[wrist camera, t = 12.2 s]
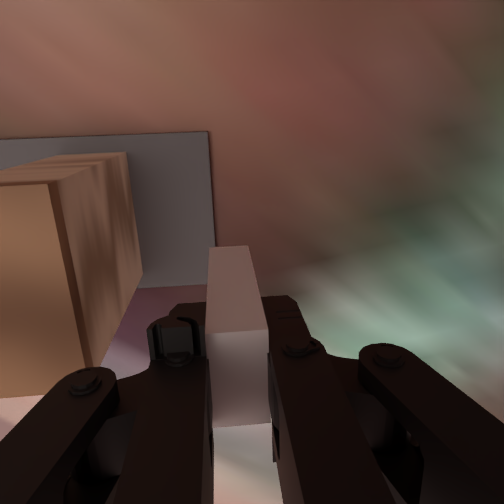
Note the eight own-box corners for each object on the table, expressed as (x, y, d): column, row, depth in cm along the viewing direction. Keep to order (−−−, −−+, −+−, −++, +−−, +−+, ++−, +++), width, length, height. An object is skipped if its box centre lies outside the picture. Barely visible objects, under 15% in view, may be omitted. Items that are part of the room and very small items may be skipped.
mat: (-133, 144, 24) (-142, 145, 23) (207, 131, 25) (207, 131, 25) (-82, 298, 27) (-88, 302, 27) (217, 280, 28) (217, 283, 28)
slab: (57, 154, 24) (-85, 190, 13) (126, 150, 25) (47, 184, 13) (81, 278, 27) (-19, 400, 16) (143, 274, 27) (90, 390, 16)
